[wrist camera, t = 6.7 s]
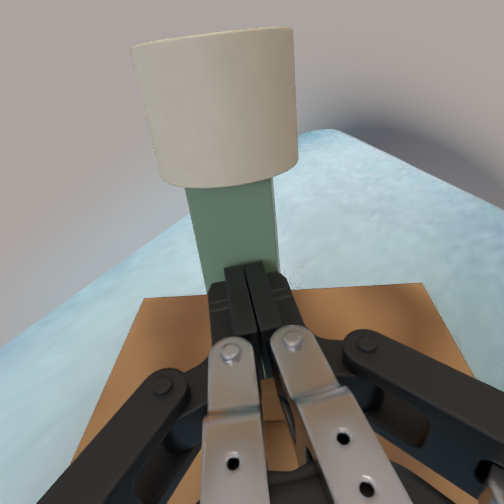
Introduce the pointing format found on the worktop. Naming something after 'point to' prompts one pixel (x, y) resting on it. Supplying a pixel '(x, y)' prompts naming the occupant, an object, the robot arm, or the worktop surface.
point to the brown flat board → (316, 320)
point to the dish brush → (225, 141)
